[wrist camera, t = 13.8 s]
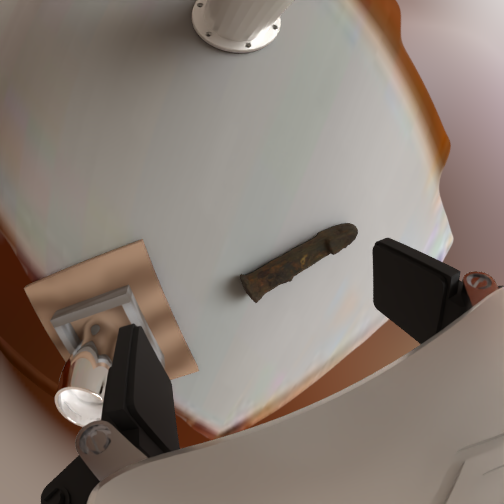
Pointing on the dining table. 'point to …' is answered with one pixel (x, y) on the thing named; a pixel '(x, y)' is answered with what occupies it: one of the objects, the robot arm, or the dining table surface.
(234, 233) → the dining table surface
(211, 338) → the dining table surface
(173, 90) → the dining table surface
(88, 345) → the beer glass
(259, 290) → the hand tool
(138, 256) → the glass dock
